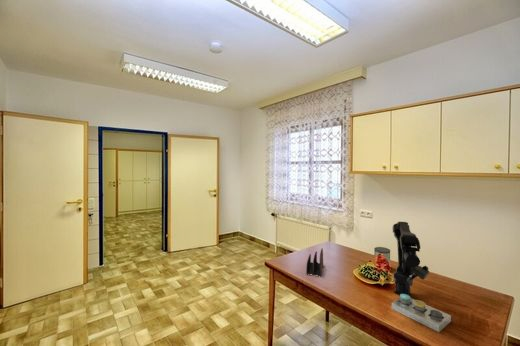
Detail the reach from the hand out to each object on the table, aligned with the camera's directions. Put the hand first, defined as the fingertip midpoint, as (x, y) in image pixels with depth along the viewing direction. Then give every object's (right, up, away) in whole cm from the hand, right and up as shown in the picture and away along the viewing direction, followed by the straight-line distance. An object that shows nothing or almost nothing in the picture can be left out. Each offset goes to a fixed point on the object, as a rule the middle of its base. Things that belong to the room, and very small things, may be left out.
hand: (408, 288), depth 123 cm
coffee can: (+11, -9, +48) cm, 50 cm away
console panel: (+3, -11, -4) cm, 12 cm away
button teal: (-1, -9, +1) cm, 9 cm away
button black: (+7, -11, -10) cm, 16 cm away
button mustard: (+3, -9, -5) cm, 10 cm away
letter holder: (-37, -10, +48) cm, 61 cm away
